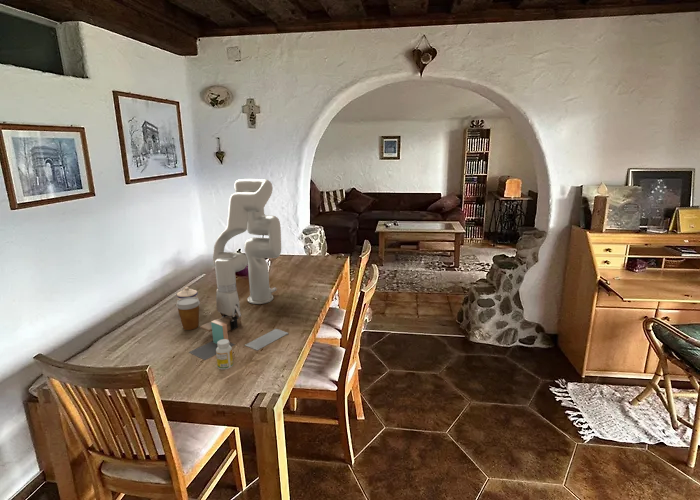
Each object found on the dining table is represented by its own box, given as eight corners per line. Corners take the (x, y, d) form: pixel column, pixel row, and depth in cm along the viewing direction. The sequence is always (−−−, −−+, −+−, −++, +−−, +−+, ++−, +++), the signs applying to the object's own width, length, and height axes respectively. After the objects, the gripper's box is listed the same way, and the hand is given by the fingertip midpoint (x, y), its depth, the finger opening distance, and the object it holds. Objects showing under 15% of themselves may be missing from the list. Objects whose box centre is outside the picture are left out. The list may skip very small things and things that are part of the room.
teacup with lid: (192, 315, 187) (189, 291, 184) (174, 314, 189) (171, 290, 186) (206, 305, 199) (204, 282, 196) (189, 304, 200) (186, 281, 197)
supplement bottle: (223, 372, 142) (220, 347, 139) (214, 366, 145) (211, 342, 143) (236, 365, 146) (234, 341, 143) (227, 360, 149) (225, 336, 147)
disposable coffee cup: (207, 323, 179) (204, 298, 176) (192, 333, 170) (189, 306, 167) (189, 320, 182) (186, 295, 179) (174, 330, 174) (170, 303, 170)
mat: (219, 338, 166) (219, 337, 166) (235, 345, 160) (235, 344, 160) (188, 353, 155) (188, 352, 155) (205, 361, 149) (204, 360, 149)
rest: (276, 329, 173) (276, 328, 173) (288, 334, 169) (288, 332, 169) (244, 346, 159) (244, 344, 159) (257, 351, 155) (257, 350, 155)
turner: (233, 322, 180) (232, 312, 179) (243, 326, 177) (242, 315, 175) (201, 337, 167) (200, 326, 166) (210, 341, 164) (209, 329, 162)
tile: (217, 340, 163) (215, 319, 161) (228, 345, 159) (226, 324, 157) (213, 342, 162) (210, 321, 159) (224, 347, 158) (222, 326, 155)
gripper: (206, 285, 172) (210, 325, 177) (232, 294, 163) (236, 336, 167) (221, 280, 178) (225, 319, 183) (247, 288, 168) (250, 329, 173)
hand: (230, 327), depth 175 cm, fingers closed on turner, 4 cm apart
